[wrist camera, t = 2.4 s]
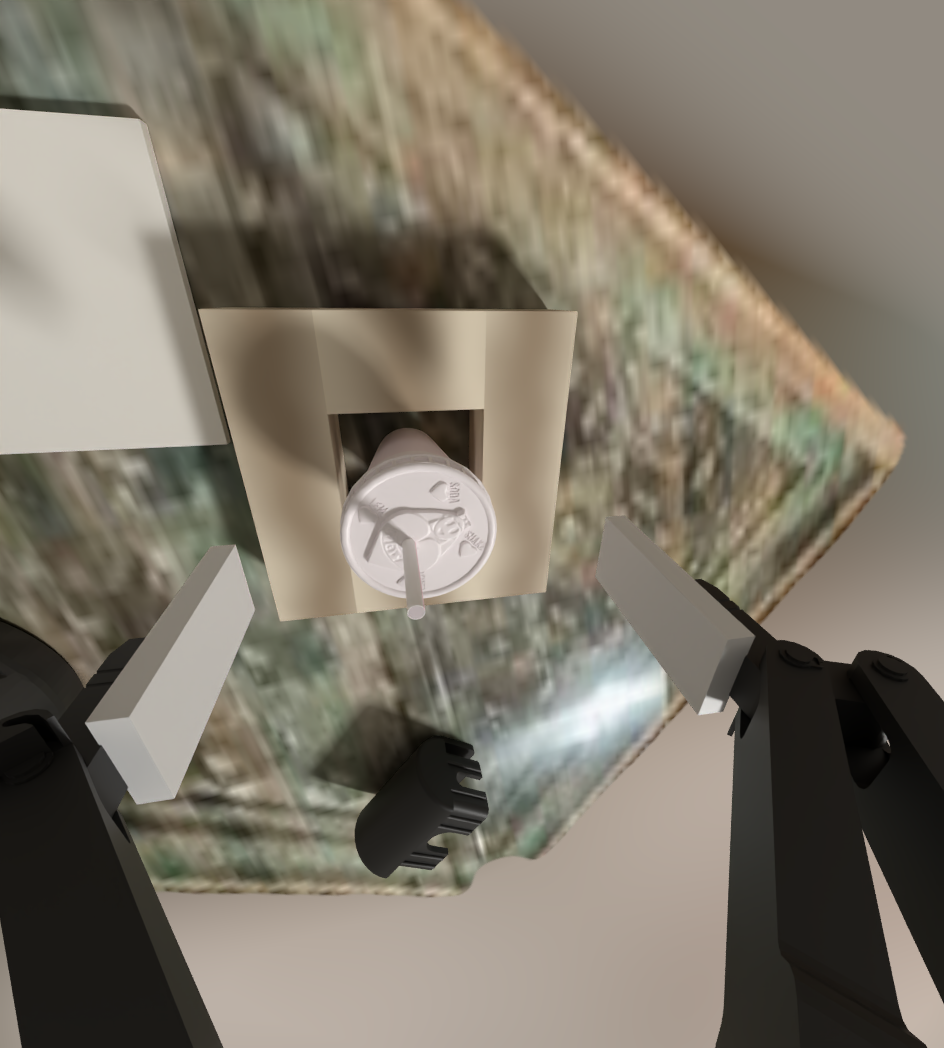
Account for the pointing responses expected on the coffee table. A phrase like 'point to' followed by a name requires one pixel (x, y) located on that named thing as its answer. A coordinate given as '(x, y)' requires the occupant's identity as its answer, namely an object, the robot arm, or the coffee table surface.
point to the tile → (94, 294)
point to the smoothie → (416, 521)
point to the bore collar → (390, 386)
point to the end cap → (421, 808)
